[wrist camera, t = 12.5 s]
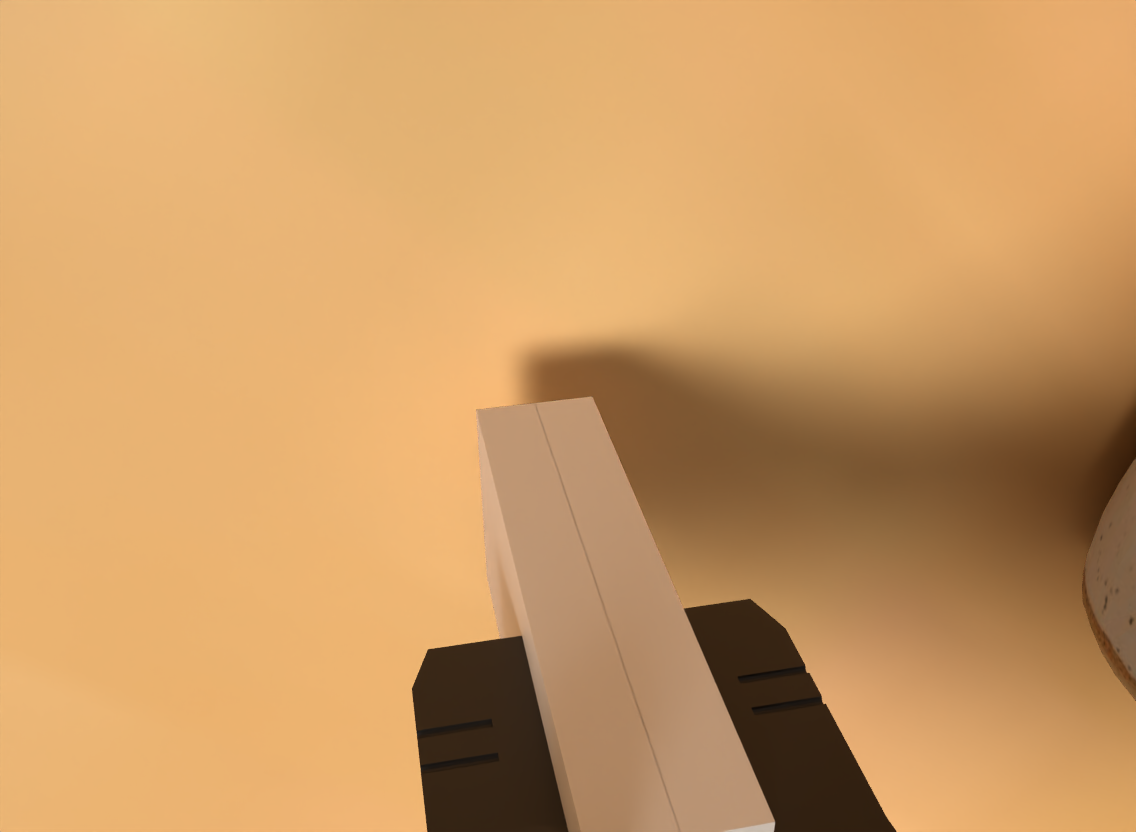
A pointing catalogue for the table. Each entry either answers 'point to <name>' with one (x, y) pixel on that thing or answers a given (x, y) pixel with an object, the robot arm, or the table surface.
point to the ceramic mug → (1115, 581)
